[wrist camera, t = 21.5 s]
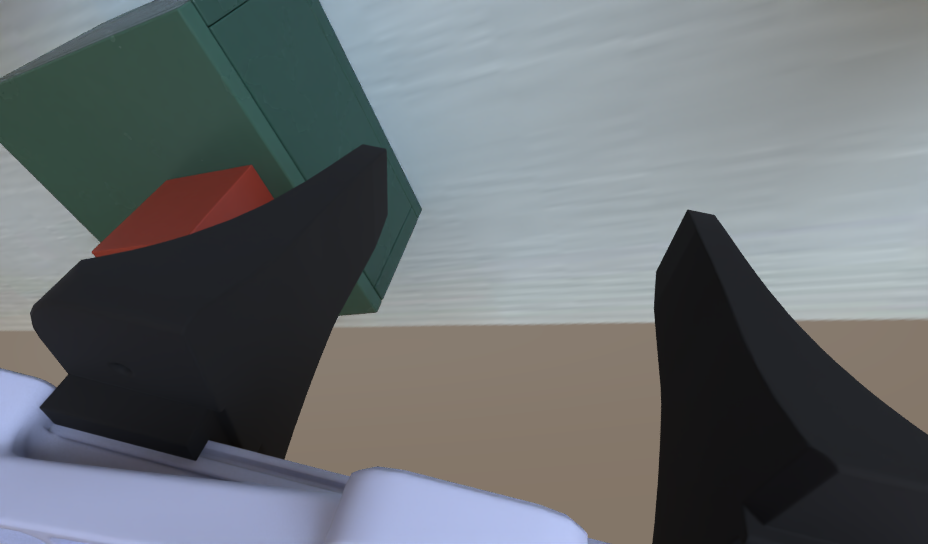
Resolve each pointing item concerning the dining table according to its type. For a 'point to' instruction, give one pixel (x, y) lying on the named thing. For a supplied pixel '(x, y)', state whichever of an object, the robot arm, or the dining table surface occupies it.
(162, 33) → the bin lid
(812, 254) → the dining table surface
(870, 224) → the dining table surface
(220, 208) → the block
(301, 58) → the bin
